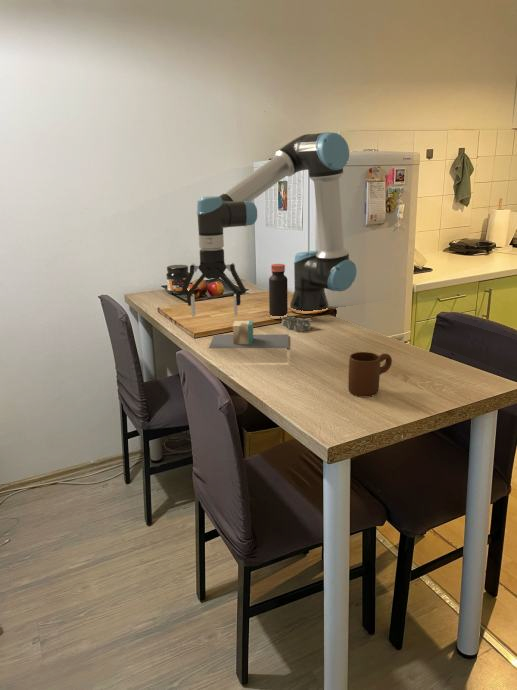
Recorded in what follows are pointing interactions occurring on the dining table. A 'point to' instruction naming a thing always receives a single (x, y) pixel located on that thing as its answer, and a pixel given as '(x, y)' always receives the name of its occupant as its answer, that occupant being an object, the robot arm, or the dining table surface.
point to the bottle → (278, 291)
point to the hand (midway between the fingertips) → (214, 315)
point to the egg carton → (291, 323)
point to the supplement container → (176, 277)
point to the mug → (366, 372)
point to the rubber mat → (258, 341)
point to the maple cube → (243, 332)
